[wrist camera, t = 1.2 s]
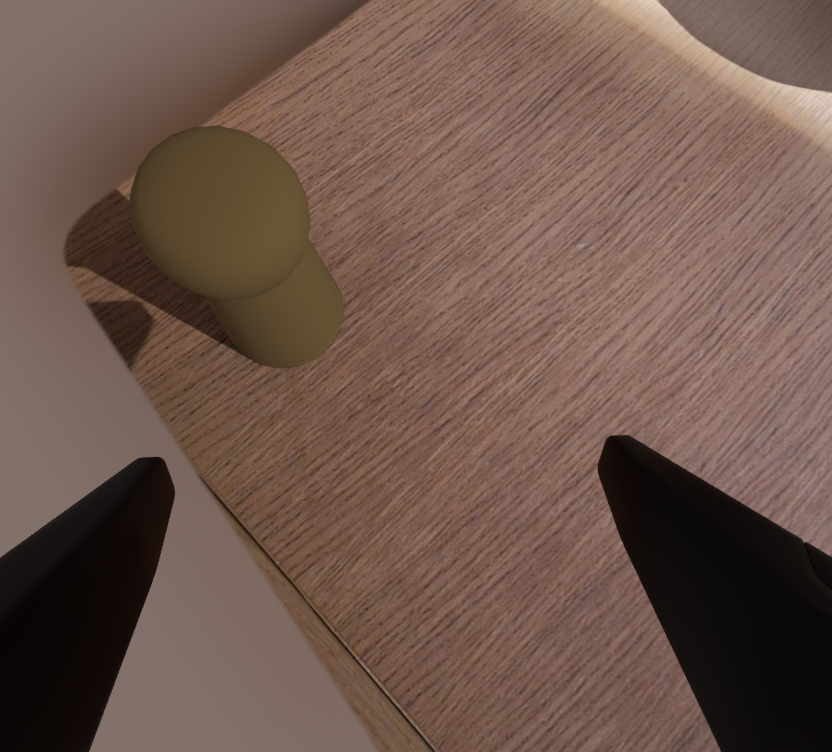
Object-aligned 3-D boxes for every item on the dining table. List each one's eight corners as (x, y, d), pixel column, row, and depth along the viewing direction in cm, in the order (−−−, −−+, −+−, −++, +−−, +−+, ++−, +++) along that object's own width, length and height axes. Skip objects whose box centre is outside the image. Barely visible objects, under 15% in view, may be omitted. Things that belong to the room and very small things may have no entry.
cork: (346, 258, 24) (321, 96, 14) (341, 370, 23) (309, 292, 12) (228, 252, 24) (106, 80, 13) (217, 366, 23) (73, 281, 12)
